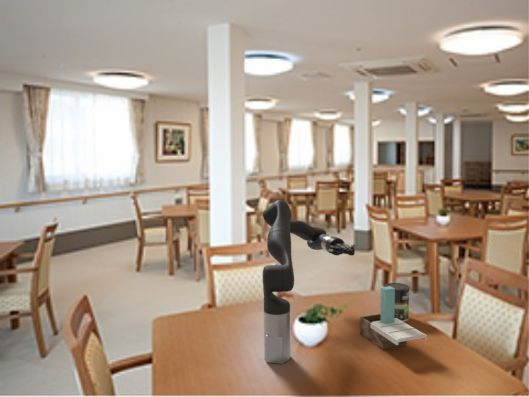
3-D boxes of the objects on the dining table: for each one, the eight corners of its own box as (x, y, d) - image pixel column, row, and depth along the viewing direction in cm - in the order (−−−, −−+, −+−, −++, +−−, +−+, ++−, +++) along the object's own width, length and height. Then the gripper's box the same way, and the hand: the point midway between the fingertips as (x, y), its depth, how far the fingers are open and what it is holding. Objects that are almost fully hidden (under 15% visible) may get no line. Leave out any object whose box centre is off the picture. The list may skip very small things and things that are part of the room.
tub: (406, 346, 170) (406, 328, 170) (382, 350, 167) (383, 332, 166) (381, 330, 185) (381, 313, 185) (359, 334, 182) (360, 317, 181)
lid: (426, 340, 161) (427, 297, 159) (396, 345, 157) (397, 302, 155) (397, 323, 176) (398, 284, 175) (370, 327, 173) (370, 288, 171)
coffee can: (412, 316, 200) (412, 285, 198) (403, 324, 192) (404, 291, 190) (389, 312, 206) (389, 281, 205) (380, 318, 198) (380, 287, 196)
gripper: (319, 237, 199) (338, 245, 183) (346, 235, 204) (367, 242, 187) (319, 254, 200) (337, 263, 184) (346, 252, 204) (367, 260, 188)
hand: (352, 252), depth 186 cm, fingers closed
